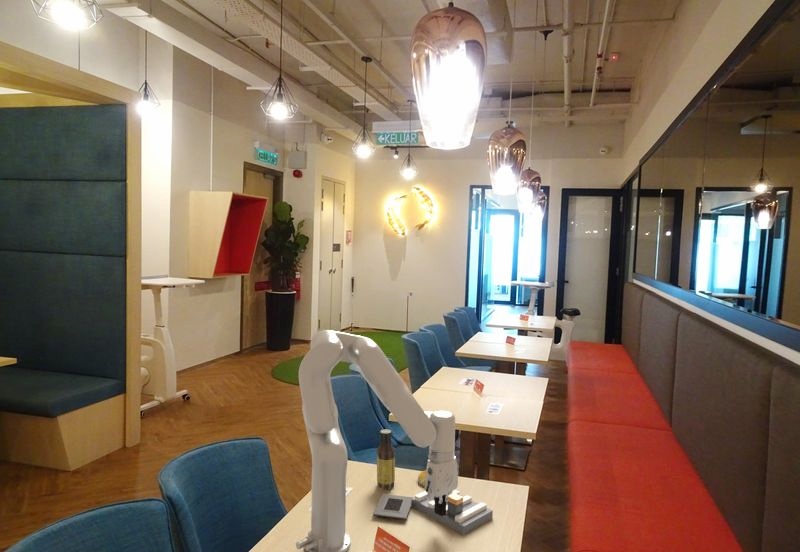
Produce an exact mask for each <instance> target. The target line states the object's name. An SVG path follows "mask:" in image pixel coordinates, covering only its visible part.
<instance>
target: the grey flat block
mask: <svg viewBox="0 0 800 552" xmlns="http://www.w3.org/2000/svg"><path fill="white" fill-rule="evenodd" d="M412 498H414V497H413V496H405V495H404V496H403V495H397V494H395V495H394V494H387V493H382V494H381V496H380V497H379V500H378V502H377V505H376V506H375V509H373V512H372V515H373V516H374V517H380V518H381V517H382V518H391V519H397V520H407V518H408V516H409V512H410V510H411V507H412V506H411V504H412Z"/></svg>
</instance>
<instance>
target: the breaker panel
mask: <svg viewBox="0 0 800 552" xmlns="http://www.w3.org/2000/svg"><path fill="white" fill-rule="evenodd" d="M454 493H455V494H457V495H459V496H461V497H463V512H462V513H460V514H458V515H457V516H455V517H453V516H451V515H449V514H447V511H448V500H447V501H446V515H443V516H440V515H438V514H436V513H435V512H434V510H435V501H434V500H429V499H427V494H428V493H427V492H426V490H424V491H422V492H420V493H417V494H415V495H414V497H413V498H412V504H411V507H412V508H414V509H416V510H417V511H419V512H421V513H423V514H425V515H427V516H428V517H430V518H432V519H435V520H436V521H438V522H439V523H442V524H444V526H445V525H446V526H447V527H449V528H450V529H452V530H454V531H456V532H458V533H460V534H462V536H463V535H465V534H467V533H469V532H471V531H473V530H474V529H476V528H478V527H480V526H481V525H484V524H485V523H486V522H488V521H491V519H493V513H494V510H493V509H490V508H488V506H487V505H488V504H486V503H485V502H482V501H481V502H480V503H478V502H476V501H474V500H472V499H473V498H472V496H469V495H468V494H467V495H464V496H463V495H462V494H461V492H460V491H459V490H457V489H455V490H453V491H452V492H450V493H449V495H452V494H454ZM449 495H448V496H449Z"/></svg>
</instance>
